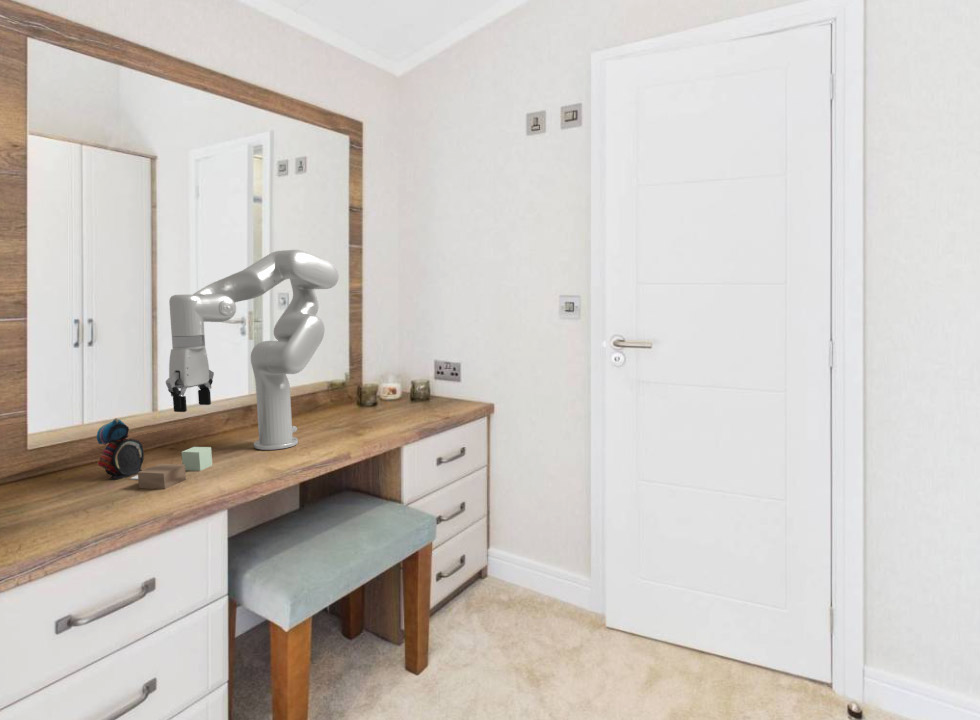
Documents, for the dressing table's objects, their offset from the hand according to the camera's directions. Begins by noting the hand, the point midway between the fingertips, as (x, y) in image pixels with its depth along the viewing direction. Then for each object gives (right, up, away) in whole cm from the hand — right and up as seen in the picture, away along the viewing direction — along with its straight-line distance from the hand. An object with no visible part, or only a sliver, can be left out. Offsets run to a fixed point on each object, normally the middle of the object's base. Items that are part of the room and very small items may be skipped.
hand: (193, 408), depth 149 cm
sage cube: (0, -16, +2) cm, 16 cm away
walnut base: (-2, -18, -11) cm, 21 cm away
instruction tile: (-9, -17, -4) cm, 19 cm away
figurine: (-16, -17, -4) cm, 24 cm away
